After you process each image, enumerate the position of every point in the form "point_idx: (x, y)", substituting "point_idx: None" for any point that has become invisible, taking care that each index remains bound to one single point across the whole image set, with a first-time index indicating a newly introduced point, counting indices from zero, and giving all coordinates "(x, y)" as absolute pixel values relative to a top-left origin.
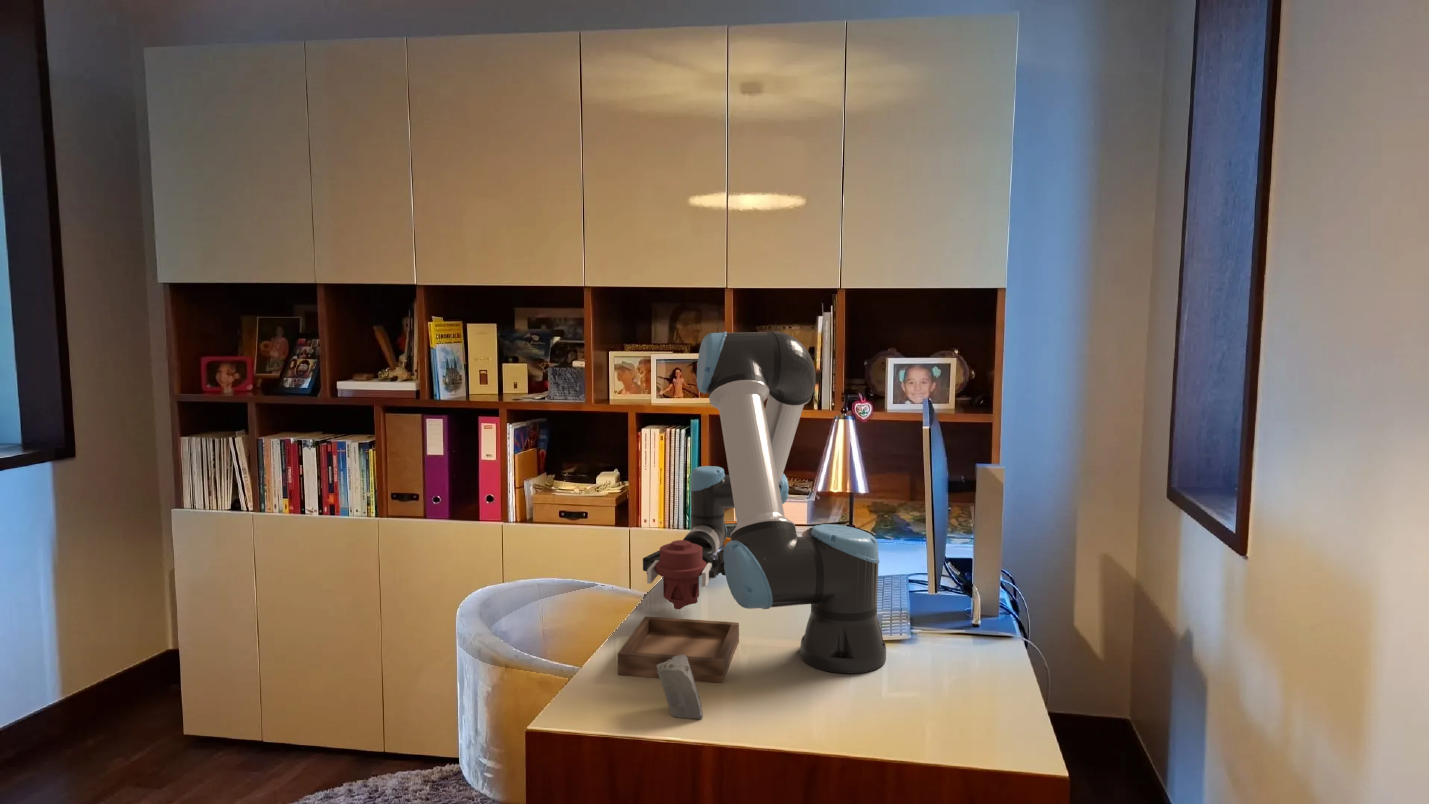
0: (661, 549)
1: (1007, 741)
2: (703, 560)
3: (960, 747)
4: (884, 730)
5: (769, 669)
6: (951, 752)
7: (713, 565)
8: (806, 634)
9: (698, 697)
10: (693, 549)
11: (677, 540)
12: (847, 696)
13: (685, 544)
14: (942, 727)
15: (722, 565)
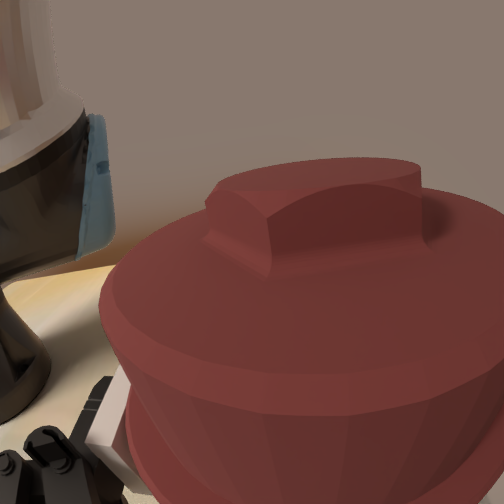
0: (427, 189)
1: (5, 295)
2: (143, 465)
3: (31, 286)
4: (58, 288)
5: (104, 345)
6: (39, 282)
7: (84, 457)
8: (24, 339)
9: None
10: (191, 229)
11: (405, 172)
12: (52, 315)
13: (253, 170)
14: (23, 298)
15: (31, 466)
